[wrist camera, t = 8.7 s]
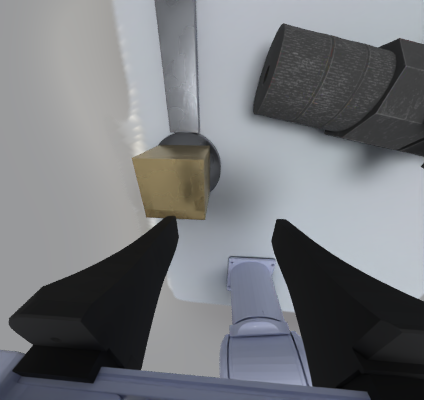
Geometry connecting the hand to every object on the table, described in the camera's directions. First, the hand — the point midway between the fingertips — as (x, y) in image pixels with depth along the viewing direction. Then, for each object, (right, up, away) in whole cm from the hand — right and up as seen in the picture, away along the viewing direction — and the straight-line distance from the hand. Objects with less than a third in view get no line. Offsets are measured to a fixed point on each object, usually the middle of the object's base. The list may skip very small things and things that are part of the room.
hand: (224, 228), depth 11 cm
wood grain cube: (-4, +6, +7) cm, 10 cm away
